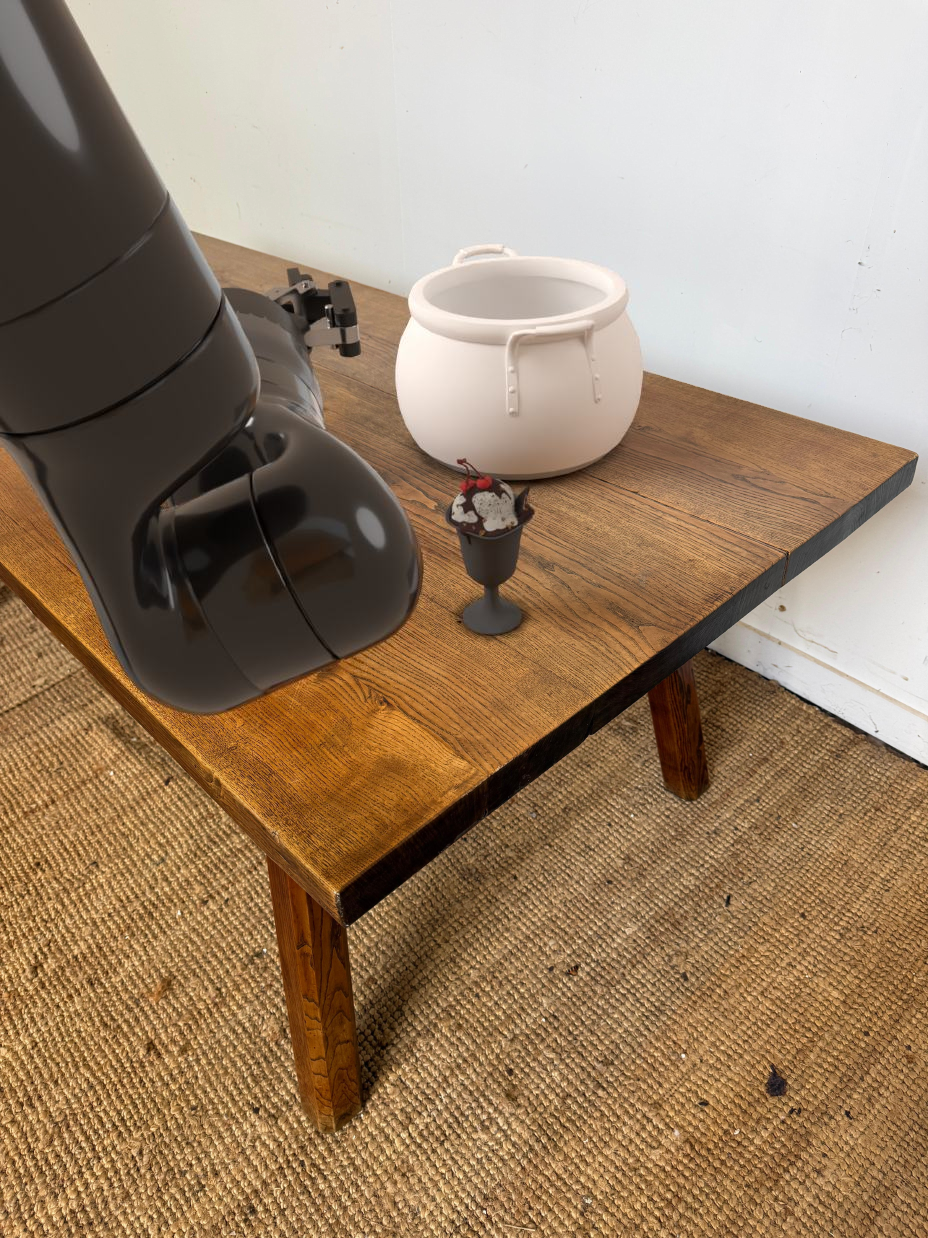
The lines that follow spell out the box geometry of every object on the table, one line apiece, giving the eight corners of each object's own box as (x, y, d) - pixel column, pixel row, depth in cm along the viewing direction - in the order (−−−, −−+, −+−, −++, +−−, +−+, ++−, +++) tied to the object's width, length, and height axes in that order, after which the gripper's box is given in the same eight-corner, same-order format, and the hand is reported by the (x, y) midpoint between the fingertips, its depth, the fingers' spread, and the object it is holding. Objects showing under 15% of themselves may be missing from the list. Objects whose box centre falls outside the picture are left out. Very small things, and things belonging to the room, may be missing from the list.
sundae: (435, 620, 73) (422, 458, 64) (488, 584, 77) (483, 425, 68) (494, 653, 69) (490, 486, 60) (548, 613, 73) (551, 450, 64)
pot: (380, 402, 108) (364, 256, 98) (583, 373, 113) (589, 230, 102) (432, 520, 86) (419, 347, 75) (683, 477, 90) (704, 308, 80)
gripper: (377, 295, 41) (330, 215, 54) (59, 335, 39) (88, 241, 51) (392, 441, 46) (346, 336, 58) (108, 485, 43) (124, 366, 56)
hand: (225, 292), depth 55 cm, fingers open, 8 cm apart
